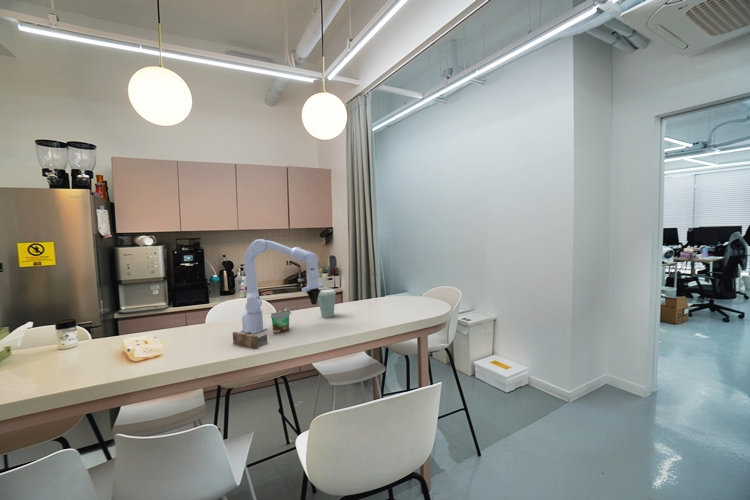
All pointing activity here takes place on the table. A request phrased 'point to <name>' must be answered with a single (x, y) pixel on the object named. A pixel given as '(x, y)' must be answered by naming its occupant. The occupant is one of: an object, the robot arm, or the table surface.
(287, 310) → the food container
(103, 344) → the table surface
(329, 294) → the disposable coffee cup
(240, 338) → the holder bay
